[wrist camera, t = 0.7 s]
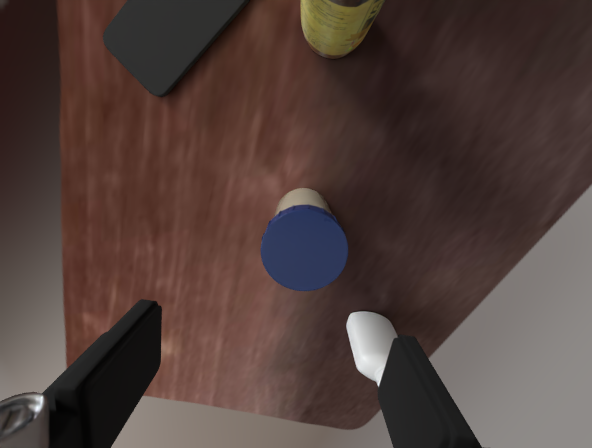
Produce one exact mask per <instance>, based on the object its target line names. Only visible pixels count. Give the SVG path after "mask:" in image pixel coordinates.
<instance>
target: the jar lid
mask: <svg viewBox="0 0 592 448" xmlns="http://www.w3.org/2000/svg"><path fill="white" fill-rule="evenodd" d="M347 257H348V243H347V239H346V237H345V232H344V229H343V227H342V228H341V226H340V224H339V222H338V221H337V219H336V217H335V216H333V215H332V214H330V213H329V212H328V211H326V210H324V208H320V207H317V206H313V205H309V204H308V205H295V206H294V205H293V206H291V207H289V208H286V209H284V210H283V211H279V213H278V214H277V215H276V216H275V217H274V218H273V219H272V220H271V221H269V224H268V227H267V229H266V231H265V233H264V234H263V237H262V243H261V258H262V262H263V265H264V267H265V269H266V271H267V272H268V273H269V275H270V276H271V277H272V278H273V279H274V280H275V281H276V282H278V283H279V284H281V285H282V286H284V287H287V288H289V289H293V290H297V291H311V290H316V289H319V288H322V287H324V286H326V285H328V284H330V283H331V282H333V281H334V280H335V279H336V278H337V277H338V276H339V275H340V273H341V272H342V270H343V269H344V267H345V264H346V261H347Z"/></svg>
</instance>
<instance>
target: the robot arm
mask: <svg viewBox="0 0 592 448" xmlns="http://www.w3.org/2000/svg"><path fill="white" fill-rule="evenodd" d="M161 320H162V307H161V306H158V303H157V302H156V301H150V300H143V299H142V300H140V301H138V302H137V303H136V304H135V305H134V306H133V307H132V308H131V309H130V310H129V311H128V312H127V313H126V314H125V315H124V316H123V317H122V318H121V319H120V320H119V321H118V322H117V323H116V324H115V325H114V326H113V327H112V328H111V329H110V330H109V331H108V332H106V333H104V334H103V335H101V336H100V337H99V338H98V339H97V340H96V341H95V342H94V343H93V344H92V345H91V346H90V347H89V348H88V349H87V350H86V351H85V352H84V353H83V354H82V355H81V356H80V357H79V358H78V359H77V360H76V361H75V362H74V363H73V364H72V365H71V366H69V367H68V368H67V369H66V370H65V371H64V372H63V373H62V374H61V375H60V376H59V377H58V378H57V379H56V380H55V381H54V382H53V383H52V384H51V385H50V386H49V387H48V388H47V389H46V390H45V391H44V392H43V393H42V394H41V393H37V392H30V393H22V394H18V395H14V396H12V397H9V398H7V399H5V400H2V401H1V402H0V448H111V446H112V444H113V443H114V441H115V440H116V438H117V436H118V435H119V433H120V431H121V430H122V428H123V427H124V425H125V423H126V422H127V420H128V418H129V417H130V415H131V413H132V412H133V410H134V408H135V407H136V405H137V404H138V402H139V401H140V399H141V397H142V396H143V394H144V392H145V391H146V389H147V388H148V386H149V384H150V383H151V381H152V379H153V378H154V376H155V375H156V373H157V371H158V369H159V366H160V363H161ZM378 400H379V403H380V406H381V409H382V412H383V416H384V419H385V422H386V425H387V428H388V431H389V434H390V438H391V441H392V444H393V447H394V448H482V447H481V445H480V443H479V442H478V440H477V439H476V437H475V435H474V434H473V432H472V430H471V429H470V427H469V425H468V424H467V422H466V420H465V419H464V417H463V415H462V414H461V412H460V410H459V409H458V407H457V405H456V404H455V402H454V400H453V399H452V397H451V396H450V394H449V392H448V391H447V389H446V387H445V386H444V384H443V382H442V381H441V379H440V378H439V376H438V374H437V373H436V371H435V369H434V367H433V366H432V365H431V363H430V361H429V359H428V358H427V356H426V354H425V353H424V351H423V349H422V348H421V346H420V344H419V343H418V341H417V339H416V338H415V337H413V336H406V335H399V336H398V337H397V338H394V339H393V342H392V345H391V348H390V351H389V355H388V358H387V361H386V364H385V368H384V371H383V374H382V378H381V381H380V384H379V387H378Z"/></svg>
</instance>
